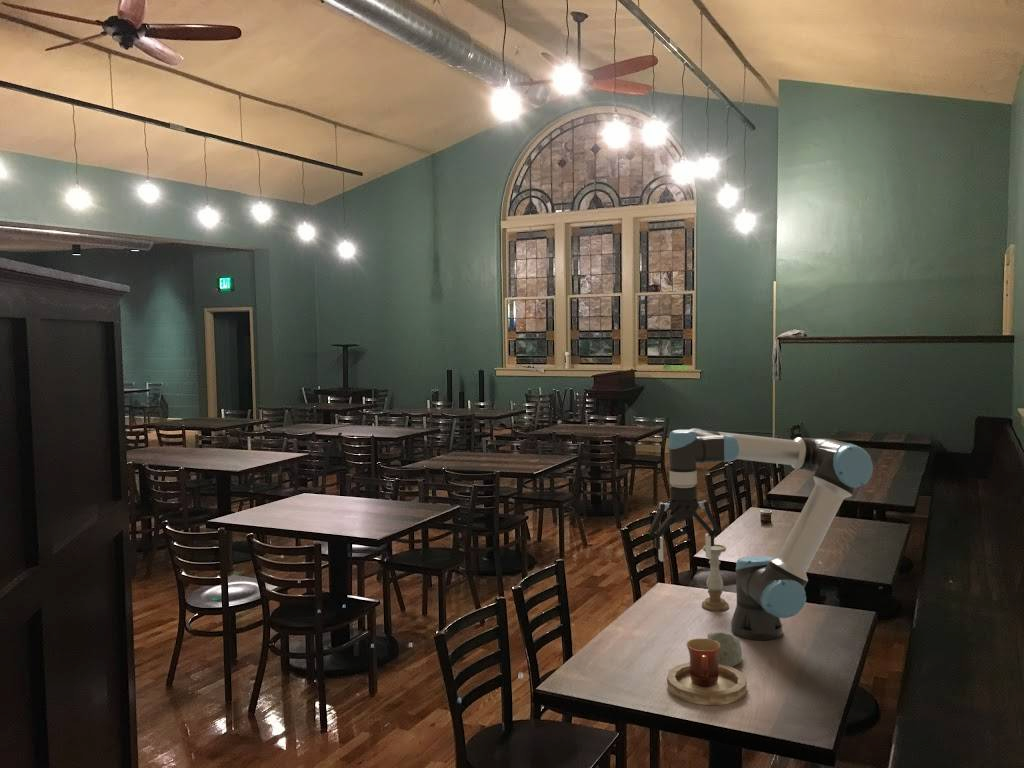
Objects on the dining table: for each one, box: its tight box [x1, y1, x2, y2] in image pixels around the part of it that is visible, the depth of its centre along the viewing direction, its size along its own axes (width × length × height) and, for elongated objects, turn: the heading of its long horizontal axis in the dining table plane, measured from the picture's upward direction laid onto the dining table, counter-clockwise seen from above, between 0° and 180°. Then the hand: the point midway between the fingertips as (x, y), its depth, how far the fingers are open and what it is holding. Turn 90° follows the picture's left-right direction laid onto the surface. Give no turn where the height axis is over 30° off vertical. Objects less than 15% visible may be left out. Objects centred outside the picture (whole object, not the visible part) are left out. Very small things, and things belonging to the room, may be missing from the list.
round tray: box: [666, 661, 748, 707], centre depth 220 cm, size 20×20×3 cm
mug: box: [686, 637, 721, 687], centre depth 220 cm, size 12×9×10 cm
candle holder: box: [701, 543, 730, 612], centre depth 279 cm, size 9×9×20 cm
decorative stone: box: [706, 631, 743, 668], centre depth 236 cm, size 13×11×10 cm
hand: (684, 559), depth 238 cm, fingers open, 13 cm apart
